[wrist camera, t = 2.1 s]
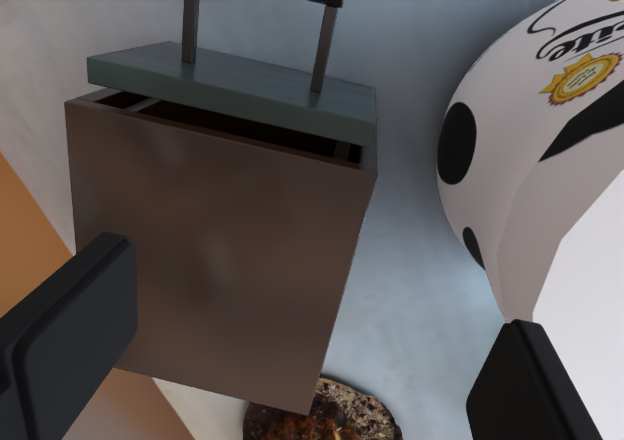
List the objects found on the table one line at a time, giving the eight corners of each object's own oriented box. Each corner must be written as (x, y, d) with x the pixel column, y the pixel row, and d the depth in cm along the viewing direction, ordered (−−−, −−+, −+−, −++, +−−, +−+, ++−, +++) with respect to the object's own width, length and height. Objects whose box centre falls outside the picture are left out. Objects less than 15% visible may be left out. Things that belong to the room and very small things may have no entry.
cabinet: (165, 68, 29) (63, 101, 20) (377, 117, 29) (377, 174, 19) (159, 268, 37) (84, 360, 28) (325, 308, 37) (308, 416, 27)
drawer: (172, -60, 25) (78, -88, 17) (401, -9, 25) (413, -14, 17) (161, 244, 35) (99, 315, 27) (325, 283, 34) (310, 367, 27)
